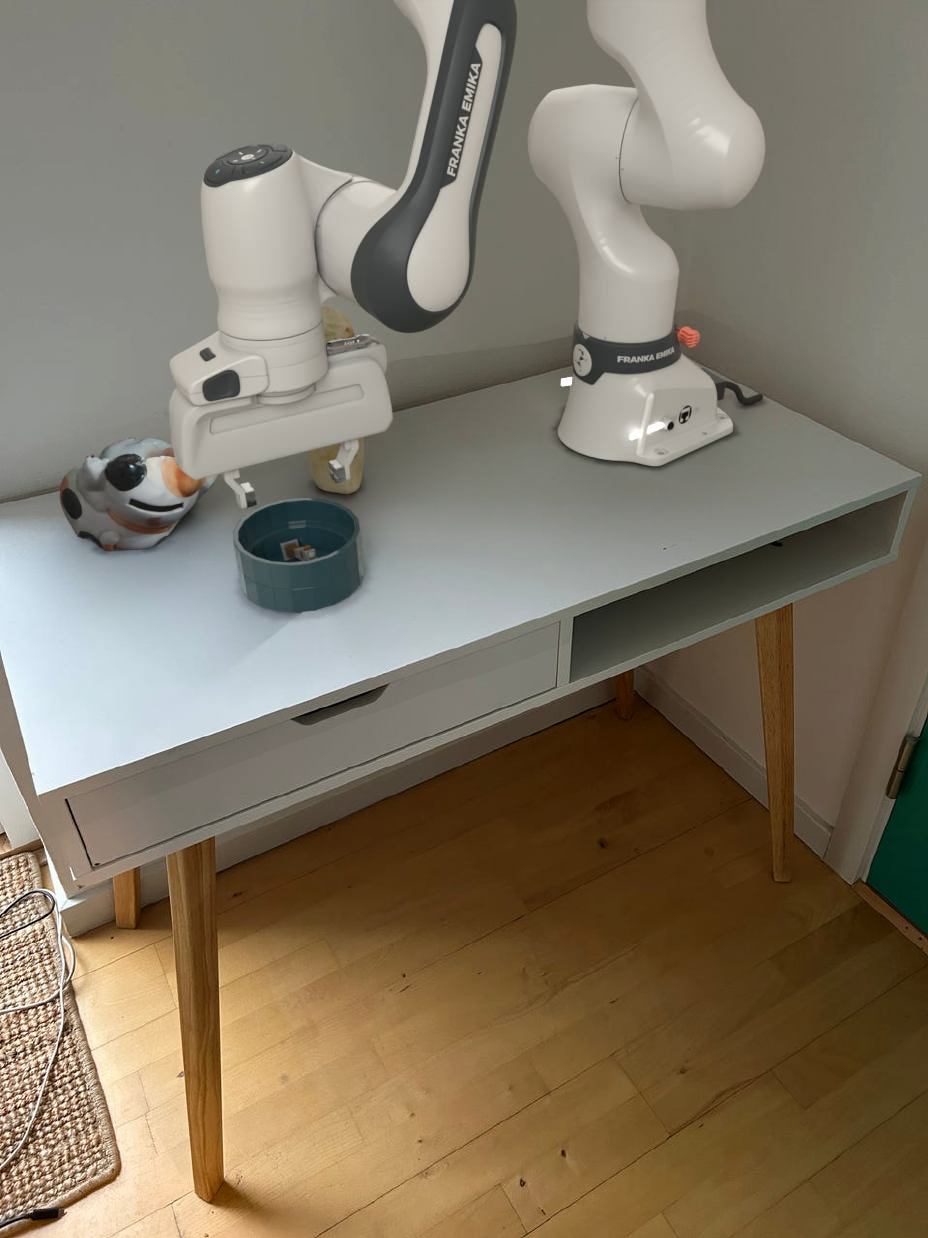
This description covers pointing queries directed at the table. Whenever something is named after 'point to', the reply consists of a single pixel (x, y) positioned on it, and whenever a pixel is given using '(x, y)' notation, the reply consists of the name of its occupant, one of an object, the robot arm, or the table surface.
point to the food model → (319, 458)
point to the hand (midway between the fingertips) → (294, 491)
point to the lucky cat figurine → (129, 494)
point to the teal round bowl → (295, 578)
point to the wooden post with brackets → (297, 551)
